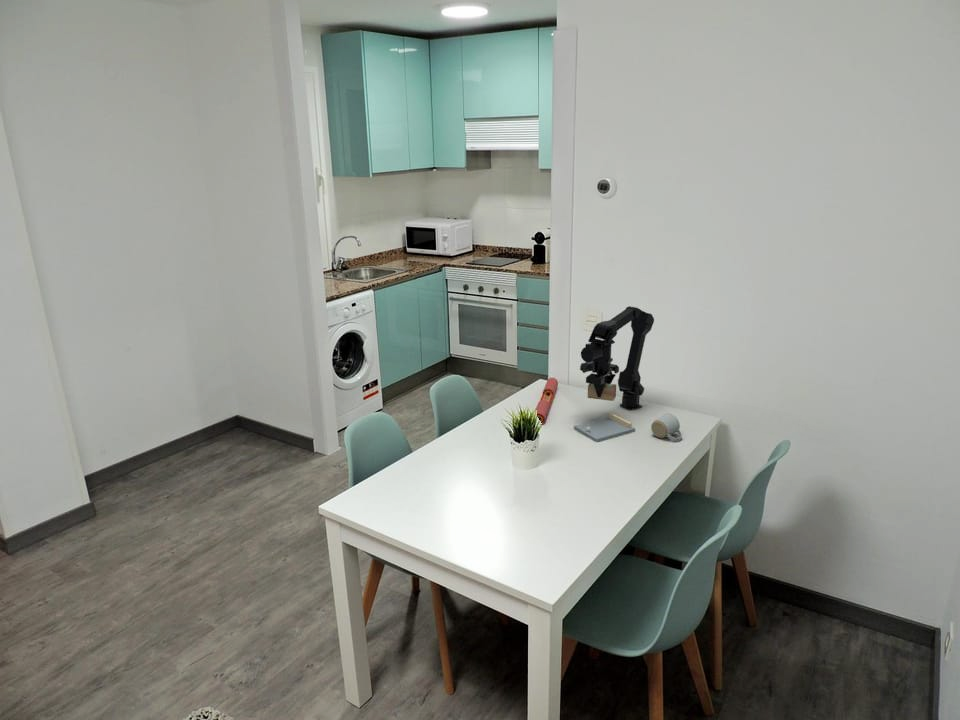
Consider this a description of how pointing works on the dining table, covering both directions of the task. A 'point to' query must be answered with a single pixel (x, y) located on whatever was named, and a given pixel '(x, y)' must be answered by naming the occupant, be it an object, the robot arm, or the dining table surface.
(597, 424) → the grey flat panel
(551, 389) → the blood vessel
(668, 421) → the ceramic mug
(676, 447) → the dining table surface
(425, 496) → the dining table surface
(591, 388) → the frame
